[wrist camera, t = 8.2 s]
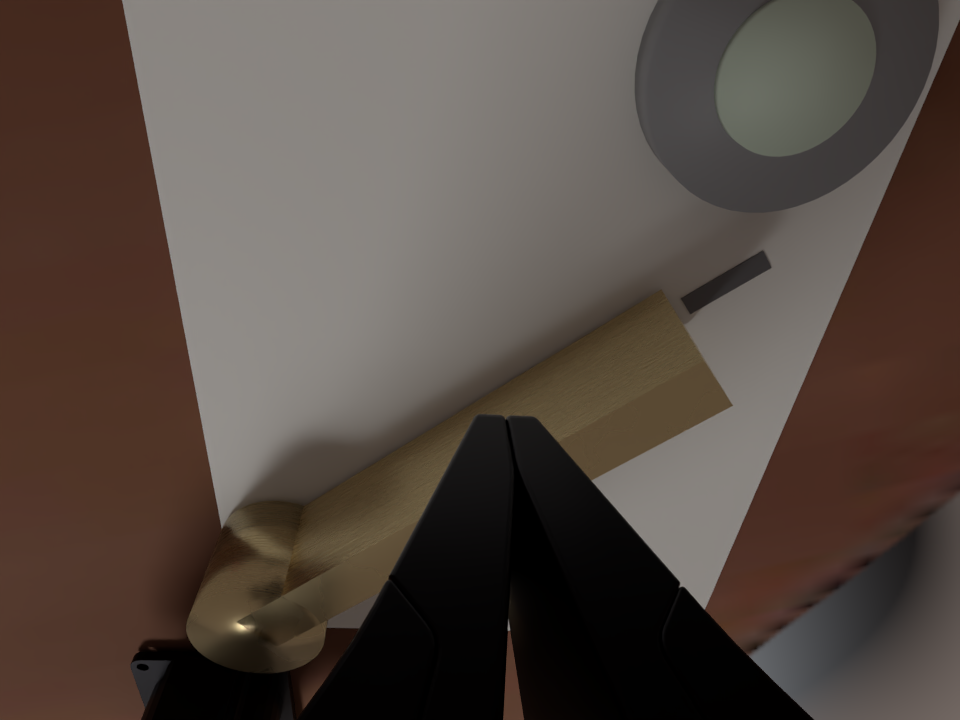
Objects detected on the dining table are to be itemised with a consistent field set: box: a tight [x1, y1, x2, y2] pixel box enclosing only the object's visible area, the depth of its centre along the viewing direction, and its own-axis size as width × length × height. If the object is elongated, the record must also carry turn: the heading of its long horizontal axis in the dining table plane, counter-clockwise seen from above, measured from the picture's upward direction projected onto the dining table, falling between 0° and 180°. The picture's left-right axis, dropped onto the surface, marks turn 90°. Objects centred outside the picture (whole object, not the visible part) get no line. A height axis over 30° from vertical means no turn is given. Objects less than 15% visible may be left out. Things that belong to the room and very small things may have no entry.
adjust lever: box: [186, 289, 733, 673], centre depth 19 cm, size 17×4×4 cm, turn 126°
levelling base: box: [122, 0, 960, 631], centre depth 19 cm, size 24×18×3 cm
